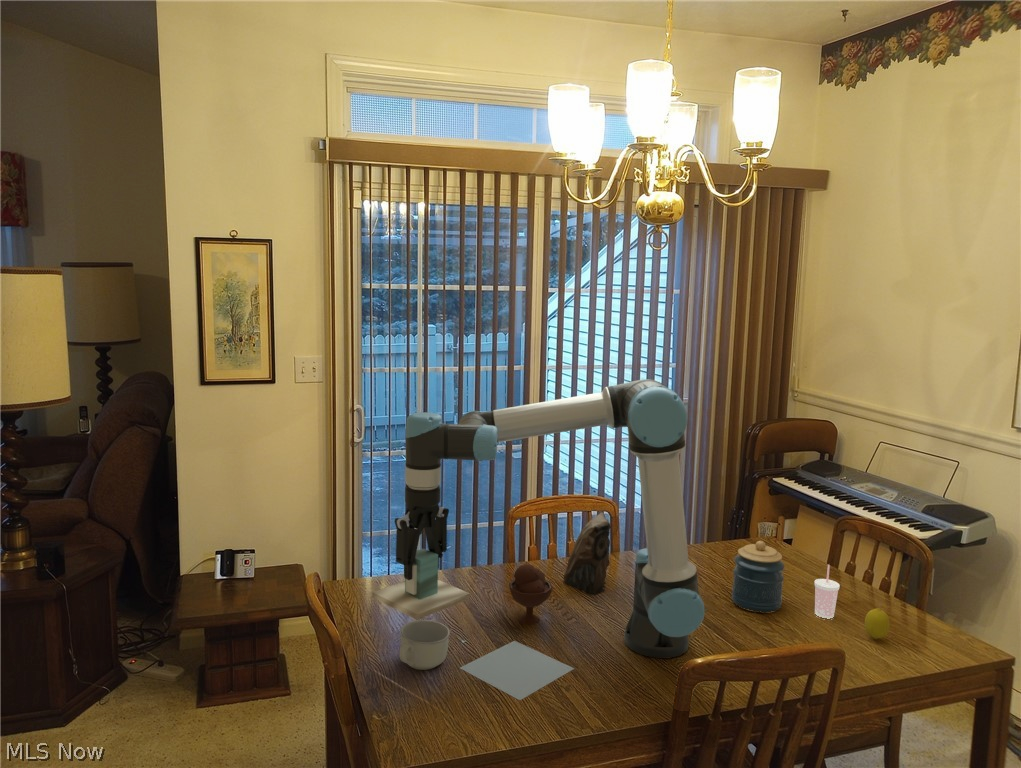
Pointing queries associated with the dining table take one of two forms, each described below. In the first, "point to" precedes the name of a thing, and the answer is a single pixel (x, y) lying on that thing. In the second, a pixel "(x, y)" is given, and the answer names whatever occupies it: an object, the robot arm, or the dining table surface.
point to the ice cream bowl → (529, 590)
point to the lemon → (877, 623)
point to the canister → (758, 578)
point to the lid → (422, 590)
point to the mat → (517, 669)
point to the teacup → (424, 644)
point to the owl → (590, 557)
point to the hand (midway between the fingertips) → (421, 588)
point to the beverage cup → (825, 596)
